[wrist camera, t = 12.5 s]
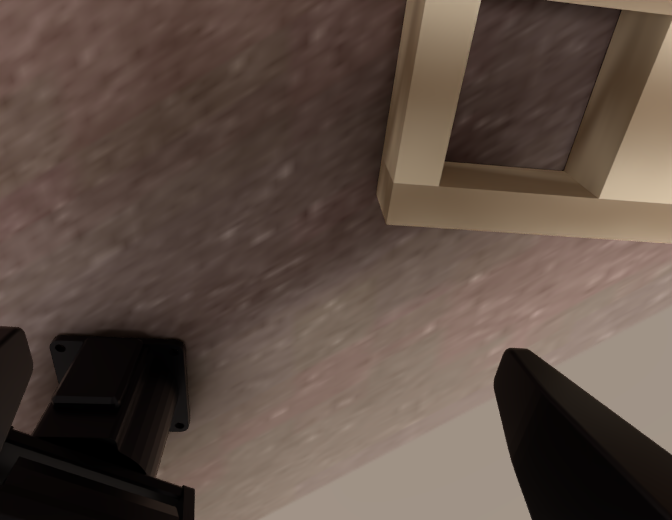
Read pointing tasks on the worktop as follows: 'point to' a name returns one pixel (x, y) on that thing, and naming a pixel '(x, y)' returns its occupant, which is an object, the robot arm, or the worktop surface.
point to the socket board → (525, 183)
